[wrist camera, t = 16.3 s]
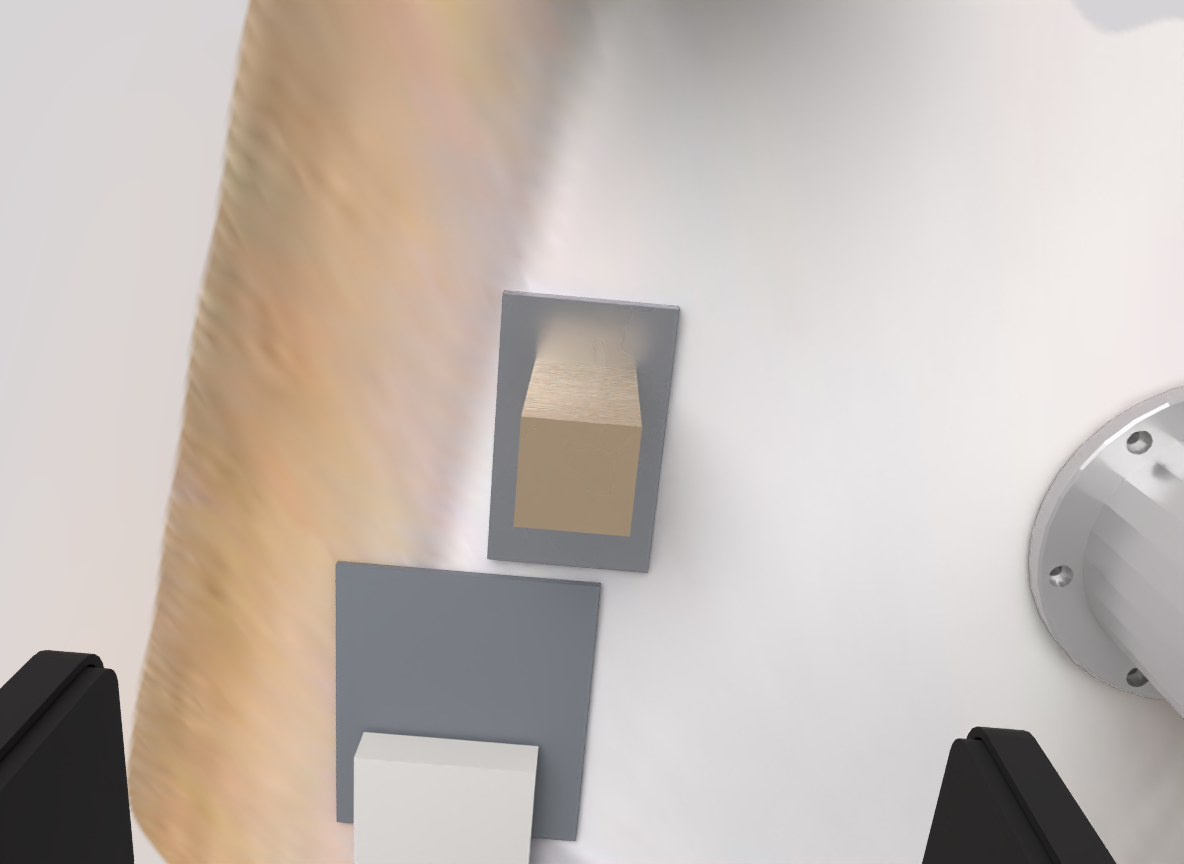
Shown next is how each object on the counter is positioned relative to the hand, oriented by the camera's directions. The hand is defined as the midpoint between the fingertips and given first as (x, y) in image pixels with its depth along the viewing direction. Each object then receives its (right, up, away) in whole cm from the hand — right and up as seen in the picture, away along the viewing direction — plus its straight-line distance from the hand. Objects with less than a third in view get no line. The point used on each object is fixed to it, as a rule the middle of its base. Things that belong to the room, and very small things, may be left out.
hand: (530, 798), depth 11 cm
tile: (-5, -8, +27) cm, 29 cm away
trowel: (0, +5, +24) cm, 25 cm away
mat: (-4, -7, +28) cm, 29 cm away
